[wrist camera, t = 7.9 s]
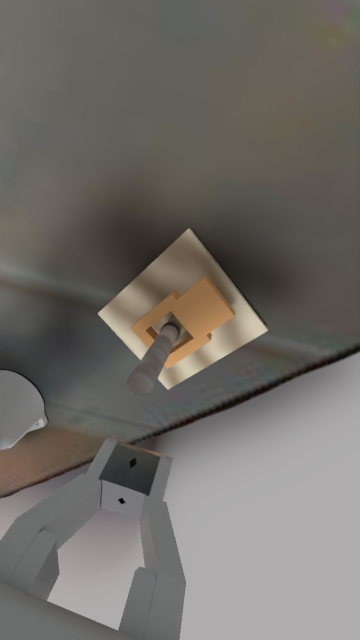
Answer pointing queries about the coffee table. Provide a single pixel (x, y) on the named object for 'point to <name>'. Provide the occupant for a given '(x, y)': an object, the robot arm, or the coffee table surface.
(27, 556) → the robot arm
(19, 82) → the coffee table surface
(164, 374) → the pipe stand
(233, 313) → the collar
